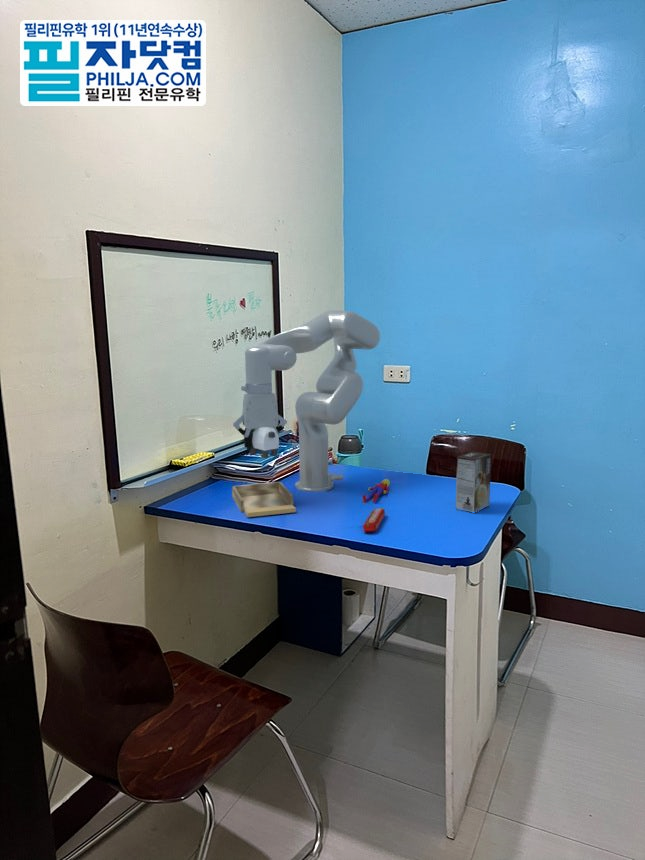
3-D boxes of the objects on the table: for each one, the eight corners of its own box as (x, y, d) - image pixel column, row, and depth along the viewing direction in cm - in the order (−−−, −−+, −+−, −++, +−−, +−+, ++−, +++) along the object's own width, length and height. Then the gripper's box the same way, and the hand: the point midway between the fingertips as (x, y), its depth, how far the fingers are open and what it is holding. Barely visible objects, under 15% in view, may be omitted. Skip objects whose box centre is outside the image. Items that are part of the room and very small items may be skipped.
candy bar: (373, 515, 181) (373, 505, 180) (386, 516, 180) (386, 506, 179) (361, 534, 166) (361, 523, 165) (375, 535, 165) (375, 525, 164)
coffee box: (470, 502, 191) (472, 450, 188) (489, 506, 187) (492, 454, 184) (454, 509, 185) (456, 456, 182) (474, 514, 180) (476, 459, 177)
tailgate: (291, 504, 185) (295, 507, 181) (292, 508, 185) (296, 512, 181) (244, 509, 181) (247, 513, 177) (244, 513, 181) (247, 517, 177)
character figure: (362, 487, 191) (381, 471, 210) (358, 500, 193) (377, 483, 211) (379, 495, 190) (397, 478, 208) (375, 507, 191) (393, 489, 209)
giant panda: (281, 456, 185) (280, 424, 183) (266, 459, 182) (265, 426, 180) (253, 448, 196) (252, 417, 194) (238, 450, 193) (237, 420, 191)
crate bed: (280, 493, 202) (280, 481, 201) (293, 508, 187) (293, 495, 186) (232, 498, 197) (231, 486, 196) (241, 513, 182) (240, 500, 182)
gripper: (231, 392, 179) (234, 453, 182) (291, 389, 184) (292, 449, 187) (227, 389, 186) (229, 448, 189) (284, 386, 191) (286, 443, 194)
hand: (260, 448), depth 188 cm, fingers closed on giant panda, 7 cm apart
